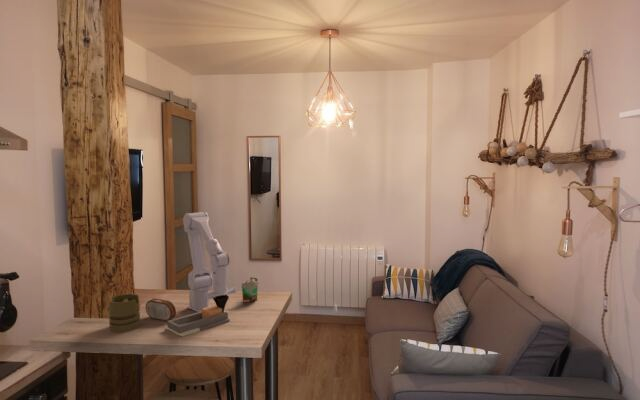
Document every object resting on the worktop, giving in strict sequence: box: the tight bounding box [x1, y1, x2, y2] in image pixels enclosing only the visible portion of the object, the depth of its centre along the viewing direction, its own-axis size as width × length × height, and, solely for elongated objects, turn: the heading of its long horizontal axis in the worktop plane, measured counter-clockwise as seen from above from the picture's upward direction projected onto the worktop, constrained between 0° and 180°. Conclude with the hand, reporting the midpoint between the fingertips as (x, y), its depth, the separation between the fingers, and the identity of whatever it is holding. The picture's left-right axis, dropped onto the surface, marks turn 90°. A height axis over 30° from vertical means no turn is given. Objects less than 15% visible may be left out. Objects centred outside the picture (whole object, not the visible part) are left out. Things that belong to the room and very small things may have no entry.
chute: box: [165, 311, 230, 337], centre depth 174 cm, size 12×22×4 cm, turn 136°
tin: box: [145, 297, 177, 322], centre depth 180 cm, size 15×3×8 cm, turn 65°
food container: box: [241, 276, 260, 304], centre depth 204 cm, size 12×6×10 cm, turn 168°
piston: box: [108, 293, 141, 333], centre depth 171 cm, size 11×12×11 cm
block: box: [202, 305, 222, 318], centre depth 178 cm, size 6×6×4 cm
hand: (221, 312), depth 181 cm, fingers closed
